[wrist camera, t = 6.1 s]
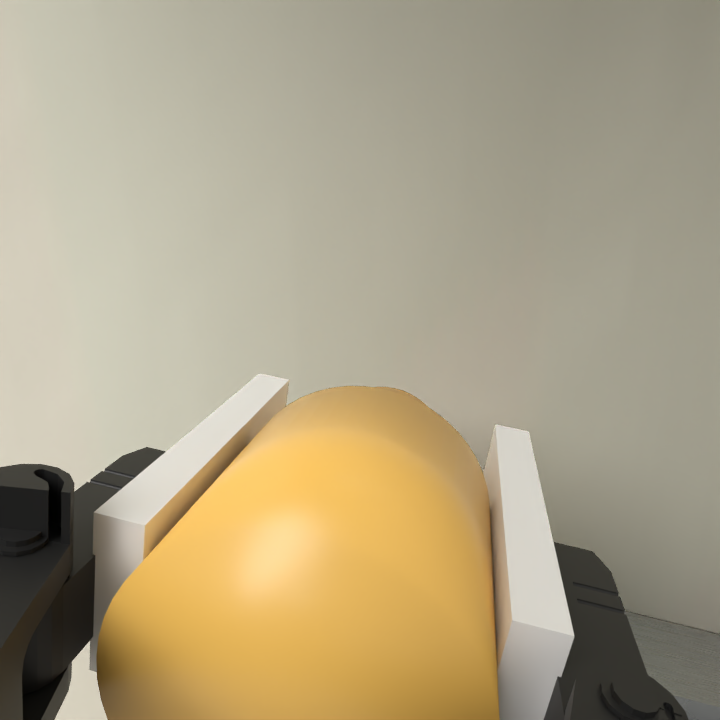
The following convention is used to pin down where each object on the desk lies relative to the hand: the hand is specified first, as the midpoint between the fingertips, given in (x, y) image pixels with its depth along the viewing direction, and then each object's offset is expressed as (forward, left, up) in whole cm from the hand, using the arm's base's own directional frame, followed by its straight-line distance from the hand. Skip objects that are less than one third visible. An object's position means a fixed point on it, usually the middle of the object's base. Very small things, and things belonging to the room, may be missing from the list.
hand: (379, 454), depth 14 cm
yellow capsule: (0, 0, -1) cm, 1 cm away
